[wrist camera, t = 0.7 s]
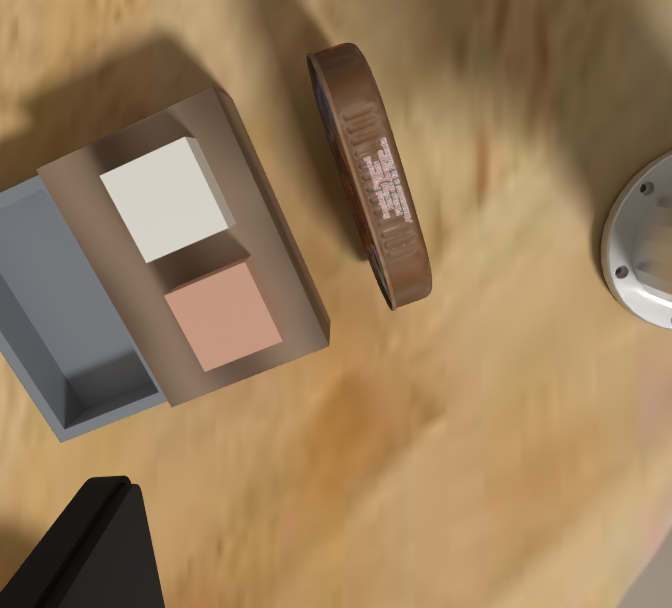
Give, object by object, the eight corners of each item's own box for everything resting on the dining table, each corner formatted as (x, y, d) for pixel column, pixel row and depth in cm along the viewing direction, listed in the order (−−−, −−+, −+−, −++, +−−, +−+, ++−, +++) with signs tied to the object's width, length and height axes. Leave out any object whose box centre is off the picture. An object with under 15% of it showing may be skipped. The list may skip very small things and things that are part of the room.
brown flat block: (232, 98, 30) (212, 86, 26) (330, 320, 35) (329, 346, 30) (81, 168, 32) (36, 169, 27) (193, 374, 36) (171, 407, 31)
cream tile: (195, 138, 26) (184, 136, 25) (236, 223, 28) (228, 227, 26) (116, 174, 27) (99, 175, 25) (159, 256, 28) (146, 263, 26)
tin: (305, 72, 30) (294, 38, 22) (353, 53, 30) (359, 13, 22) (378, 292, 34) (391, 332, 26) (421, 278, 34) (447, 314, 26)
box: (77, 169, 32) (46, 170, 28) (190, 375, 36) (175, 398, 33) (-37, 222, 33) (-80, 229, 29) (86, 417, 37) (60, 442, 34)
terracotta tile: (251, 255, 28) (244, 261, 26) (286, 329, 30) (282, 341, 28) (175, 286, 29) (163, 295, 27) (213, 358, 30) (204, 372, 28)
